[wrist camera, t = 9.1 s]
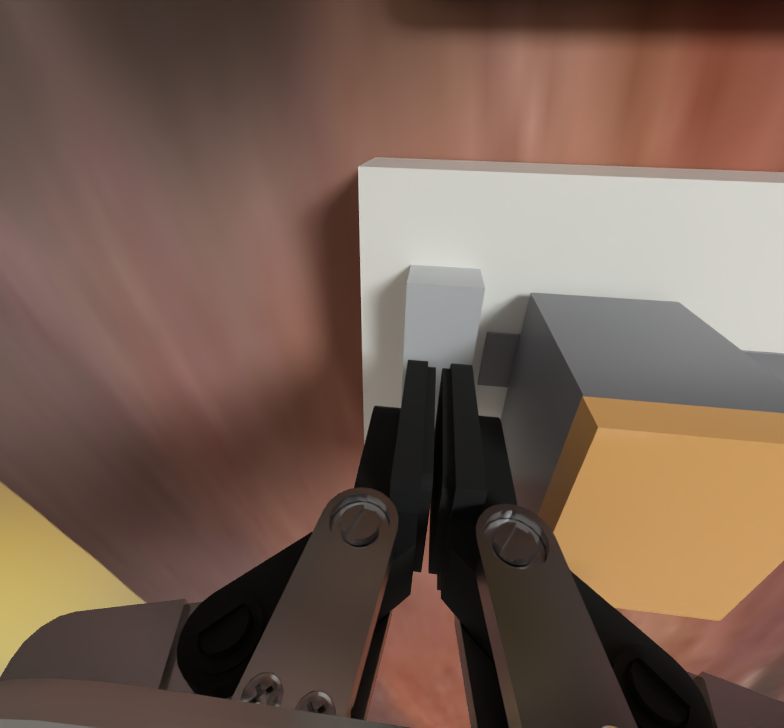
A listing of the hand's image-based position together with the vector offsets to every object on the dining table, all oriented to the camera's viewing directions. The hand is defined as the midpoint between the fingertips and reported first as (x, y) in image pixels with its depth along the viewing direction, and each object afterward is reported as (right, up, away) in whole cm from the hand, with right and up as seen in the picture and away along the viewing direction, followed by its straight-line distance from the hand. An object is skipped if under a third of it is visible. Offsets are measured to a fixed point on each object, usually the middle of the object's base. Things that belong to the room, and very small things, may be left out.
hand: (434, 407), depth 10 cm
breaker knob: (+5, +1, +2) cm, 5 cm away
